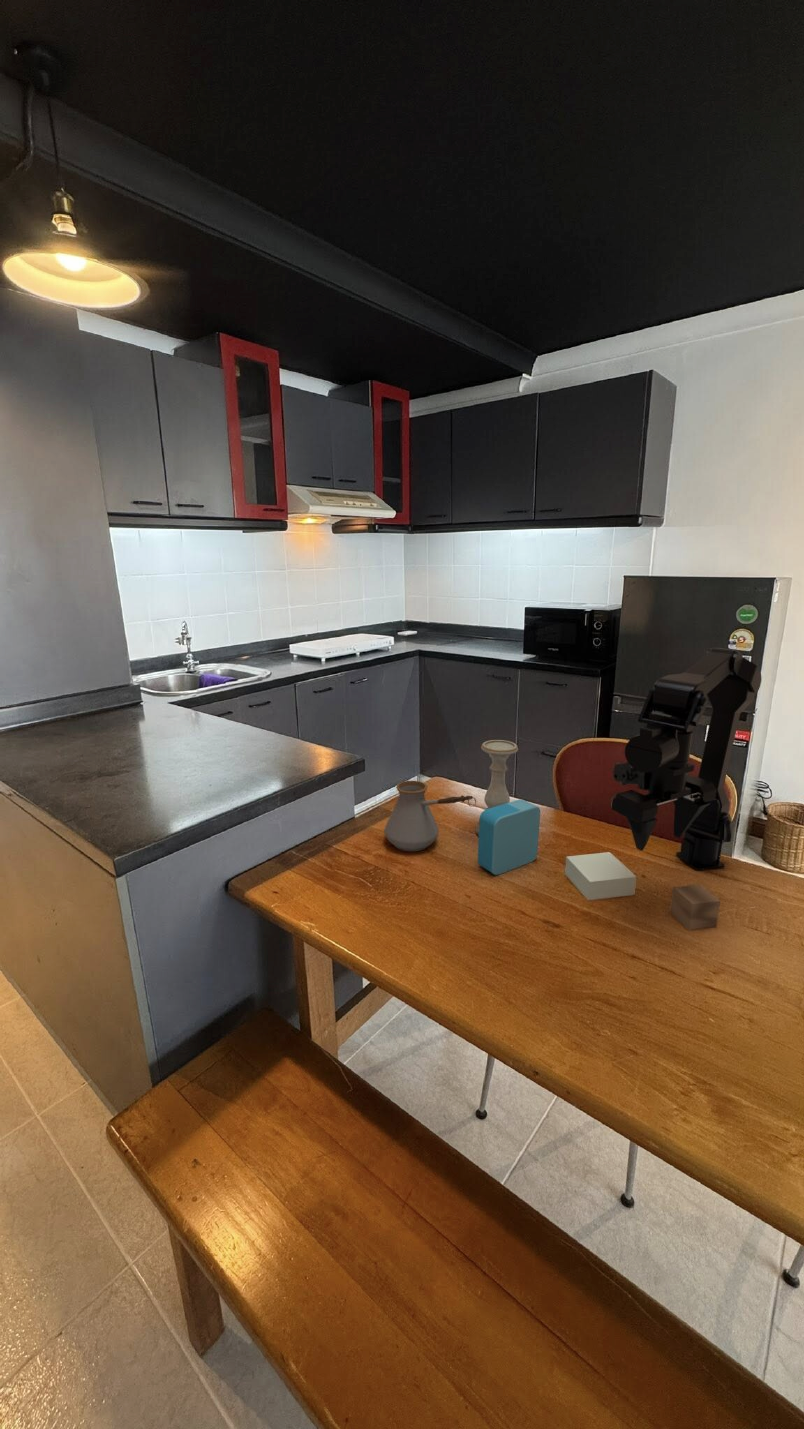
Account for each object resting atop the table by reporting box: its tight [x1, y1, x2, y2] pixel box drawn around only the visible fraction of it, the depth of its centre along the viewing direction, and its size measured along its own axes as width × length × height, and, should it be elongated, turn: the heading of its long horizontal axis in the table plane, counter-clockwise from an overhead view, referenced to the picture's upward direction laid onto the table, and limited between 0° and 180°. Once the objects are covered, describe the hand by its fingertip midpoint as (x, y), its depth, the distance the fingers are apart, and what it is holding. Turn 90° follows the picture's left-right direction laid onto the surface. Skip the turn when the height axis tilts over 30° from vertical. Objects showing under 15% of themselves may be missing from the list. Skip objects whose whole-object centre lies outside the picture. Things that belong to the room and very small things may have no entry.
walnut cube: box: [669, 883, 721, 932], centre depth 97 cm, size 5×5×5 cm
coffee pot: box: [383, 780, 477, 852], centre depth 119 cm, size 21×12×15 cm, turn 47°
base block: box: [564, 851, 637, 901], centre depth 108 cm, size 9×9×4 cm
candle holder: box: [474, 739, 519, 837], centre depth 125 cm, size 9×9×20 cm
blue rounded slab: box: [477, 798, 541, 876], centre depth 114 cm, size 12×4×12 cm, turn 123°
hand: (658, 843), depth 99 cm, fingers open, 9 cm apart
